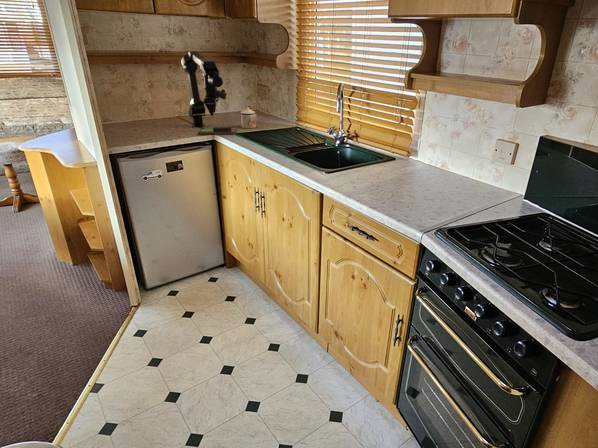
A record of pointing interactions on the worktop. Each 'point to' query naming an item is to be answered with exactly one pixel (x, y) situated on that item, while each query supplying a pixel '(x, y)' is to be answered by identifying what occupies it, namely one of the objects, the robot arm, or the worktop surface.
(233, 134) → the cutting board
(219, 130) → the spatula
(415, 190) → the worktop surface
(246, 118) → the teacup with lid
